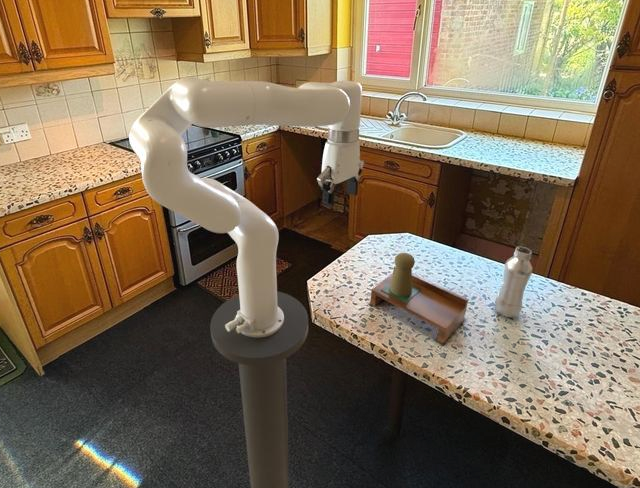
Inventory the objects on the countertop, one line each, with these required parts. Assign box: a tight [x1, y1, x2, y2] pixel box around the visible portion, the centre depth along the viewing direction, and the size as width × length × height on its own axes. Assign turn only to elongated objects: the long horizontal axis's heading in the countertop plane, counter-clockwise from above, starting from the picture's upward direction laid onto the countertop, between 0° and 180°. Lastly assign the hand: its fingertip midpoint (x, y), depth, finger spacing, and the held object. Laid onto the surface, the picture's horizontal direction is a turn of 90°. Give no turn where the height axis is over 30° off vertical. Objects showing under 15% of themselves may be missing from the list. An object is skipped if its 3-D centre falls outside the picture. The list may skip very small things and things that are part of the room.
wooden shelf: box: [369, 265, 470, 345], centre depth 108 cm, size 12×22×7 cm, turn 46°
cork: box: [390, 252, 416, 296], centre depth 107 cm, size 6×6×11 cm
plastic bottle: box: [494, 246, 533, 318], centre depth 105 cm, size 6×7×20 cm
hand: (340, 199), depth 103 cm, fingers open, 9 cm apart
